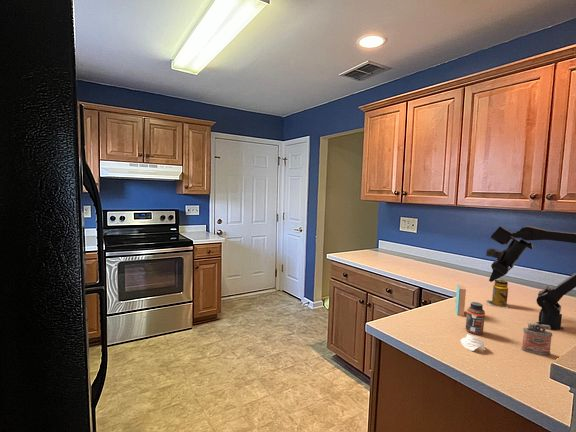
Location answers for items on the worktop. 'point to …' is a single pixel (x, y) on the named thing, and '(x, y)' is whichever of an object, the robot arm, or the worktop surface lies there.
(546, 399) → the worktop surface
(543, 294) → the robot arm
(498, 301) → the condiment
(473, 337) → the whipped cream
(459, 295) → the tile
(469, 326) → the supplement bottle
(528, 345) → the lighter
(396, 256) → the worktop surface
